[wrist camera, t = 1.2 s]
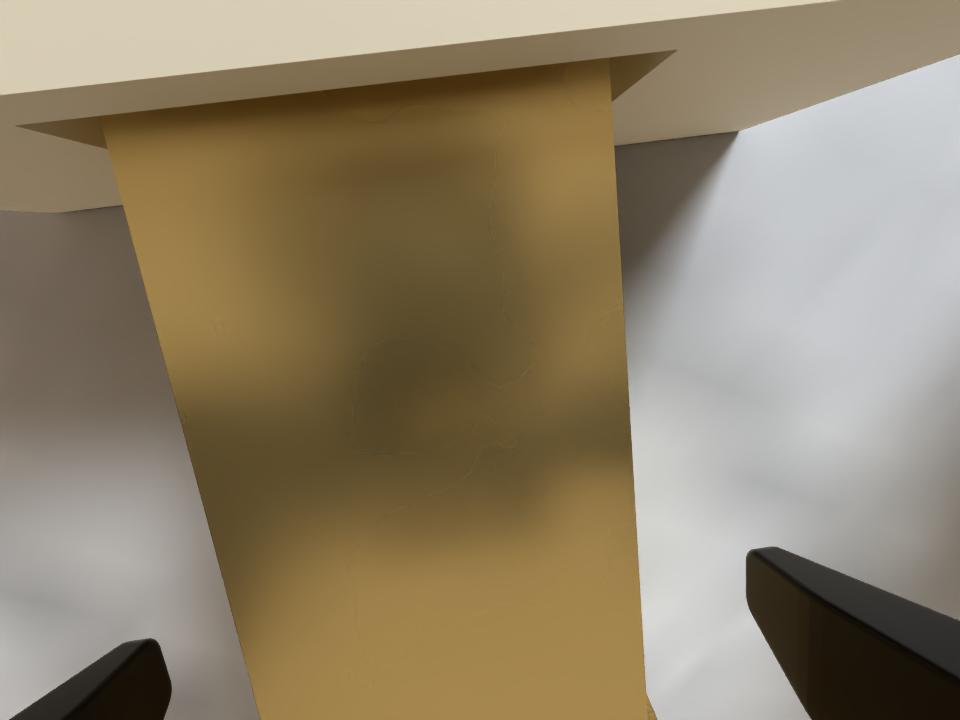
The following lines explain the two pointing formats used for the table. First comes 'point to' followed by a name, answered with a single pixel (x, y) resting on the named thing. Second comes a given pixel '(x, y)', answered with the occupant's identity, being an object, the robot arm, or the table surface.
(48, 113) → the block
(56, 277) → the table surface
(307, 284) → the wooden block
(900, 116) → the table surface
